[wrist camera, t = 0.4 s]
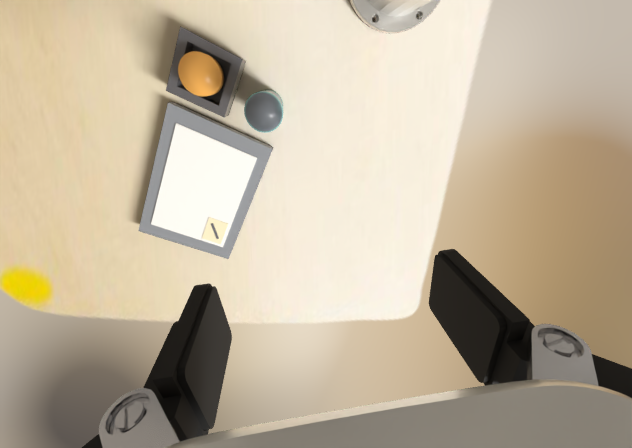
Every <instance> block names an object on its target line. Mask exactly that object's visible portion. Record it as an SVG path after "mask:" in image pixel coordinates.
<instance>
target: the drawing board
mask: <svg viewBox="0 0 632 448" xmlns="http://www.w3.org/2000/svg"><path fill="white" fill-rule="evenodd" d="M272 149H273V147H272V146H270V145H267V144H265V143H263V142H261V141H258V140H256V139H254V138H252V137H250V136H247V135H245V134H243V133H241V132H238V131H236V130H234V129H232V128H230V127H227V126H225V125H223V124H221V123H218V122H216V121H214V120H212V119H210V118H207V117H205V116H203V115H201V114H199V113H196V112H194V111H192V110H190V109H187V108H185V107H183V106H181V105H179V104H176V103H174V102H168V105H167V109H166V113H165V118H164V122H163V126H162V131H161V135H160V139H159V144H158V148H157V153H156V157H155V161H154V166H153V170H152V174H151V179H150V183H149V187H148V192H147V196H146V201H145V205H144V209H143V214H142V218H141V222H140V227H139V231H140V232H143V233H146V234H150V235H153V236H156V237H159V238H163V239H166V240H169V241H172V242H175V243H179V244H182V245H185V246H188V247H191V248H195V249H198V250H201V251H204V252H208V253H211V254H214V255H217V256H220V257H224V258H227V259H229V256H230V254H231V251H232V249H233V246H234V244H235V241H236V239H237V236H238V234H239V231H240V229H241V226H242V224H243V221H244V219H245V216H246V214H247V211H248V209H249V206H250V204H251V202H252V199H253V197H254V194H255V192H256V189H257V187H258V184H259V182H260V179H261V177H262V174H263V172H264V169H265V167H266V164H267V162H268V159H269V157H270V154H271V152H272Z"/></svg>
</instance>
